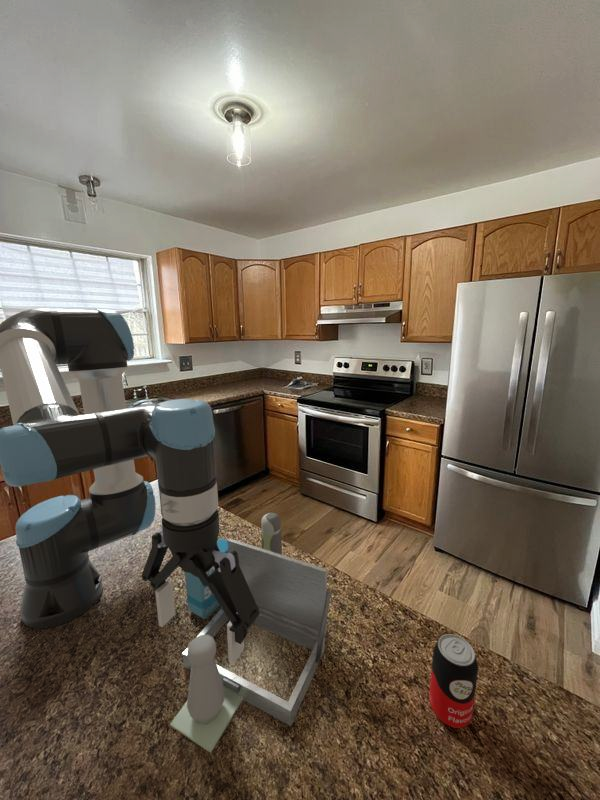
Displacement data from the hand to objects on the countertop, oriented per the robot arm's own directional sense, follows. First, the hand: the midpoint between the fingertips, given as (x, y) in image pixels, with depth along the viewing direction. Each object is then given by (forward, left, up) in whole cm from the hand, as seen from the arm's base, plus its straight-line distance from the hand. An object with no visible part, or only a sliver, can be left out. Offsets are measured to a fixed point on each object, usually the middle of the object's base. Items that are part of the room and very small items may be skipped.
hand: (200, 636), depth 52 cm
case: (+2, +11, -14) cm, 18 cm away
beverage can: (+35, +17, -15) cm, 42 cm away
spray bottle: (-3, +26, -15) cm, 30 cm away
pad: (0, 0, -14) cm, 14 cm away
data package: (-14, +19, -15) cm, 27 cm away
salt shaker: (0, 0, -14) cm, 14 cm away
